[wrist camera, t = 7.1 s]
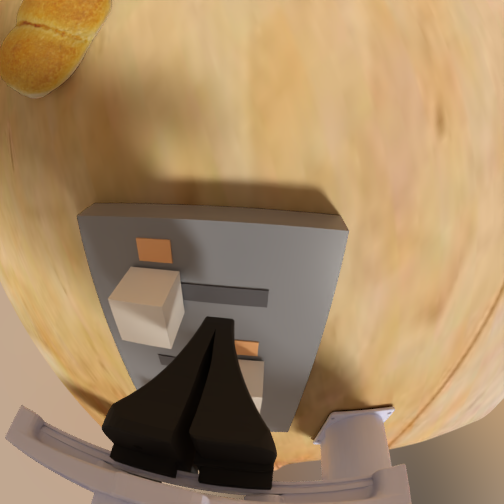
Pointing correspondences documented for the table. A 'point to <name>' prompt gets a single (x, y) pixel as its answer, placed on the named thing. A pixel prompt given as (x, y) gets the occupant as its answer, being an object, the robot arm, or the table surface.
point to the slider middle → (253, 379)
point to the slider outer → (148, 306)
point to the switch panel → (227, 283)
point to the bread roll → (49, 43)
